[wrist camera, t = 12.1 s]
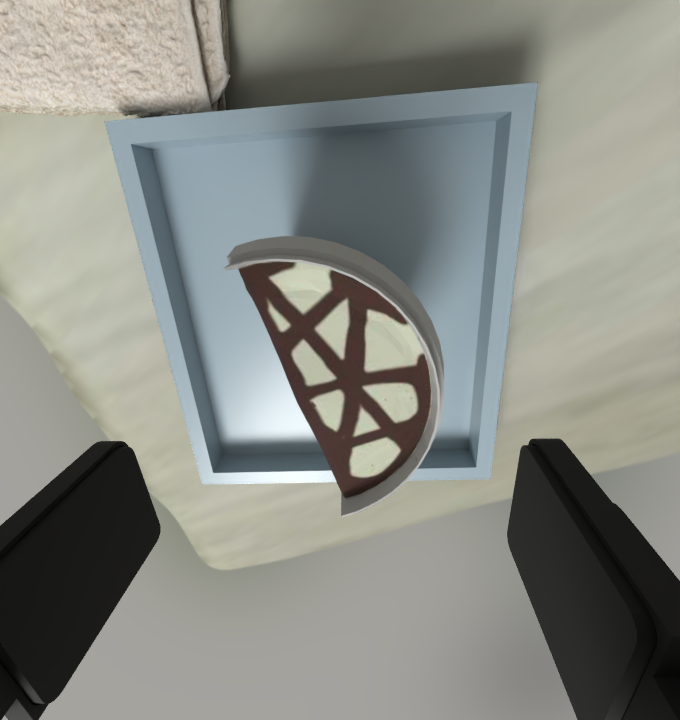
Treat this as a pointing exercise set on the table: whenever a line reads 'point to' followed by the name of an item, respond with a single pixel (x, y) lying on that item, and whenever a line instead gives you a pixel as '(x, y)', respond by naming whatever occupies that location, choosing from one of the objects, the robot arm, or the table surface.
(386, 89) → the table surface
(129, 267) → the table surface
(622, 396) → the table surface
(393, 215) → the tray
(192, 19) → the washcloth
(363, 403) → the food container
